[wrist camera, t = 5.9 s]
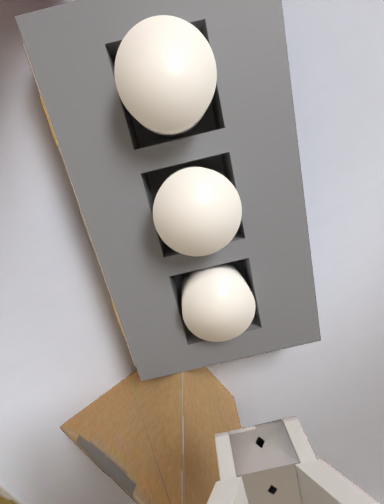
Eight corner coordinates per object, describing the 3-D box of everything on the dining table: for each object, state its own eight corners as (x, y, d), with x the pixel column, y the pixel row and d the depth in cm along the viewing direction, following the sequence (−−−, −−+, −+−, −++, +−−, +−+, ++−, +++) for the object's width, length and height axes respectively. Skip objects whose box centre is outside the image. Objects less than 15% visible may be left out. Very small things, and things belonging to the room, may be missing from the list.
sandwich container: (55, 425, 29) (-65, 687, 14) (180, 337, 27) (182, 544, 12) (115, 474, 31) (63, 743, 17) (235, 397, 29) (292, 631, 14)
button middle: (221, 158, 20) (232, 157, 16) (235, 229, 21) (248, 245, 17) (149, 175, 20) (142, 179, 16) (167, 245, 21) (165, 265, 17)
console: (255, -9, 19) (275, -52, 15) (299, 314, 26) (320, 340, 22) (38, 46, 19) (4, 18, 16) (140, 350, 27) (133, 382, 23)
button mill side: (198, 38, 18) (204, 3, 14) (215, 126, 19) (225, 117, 15) (117, 59, 18) (100, 29, 14) (140, 145, 19) (131, 141, 15)
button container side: (236, 249, 23) (248, 267, 19) (247, 305, 25) (260, 332, 21) (174, 264, 23) (174, 285, 19) (189, 318, 25) (191, 348, 21)
